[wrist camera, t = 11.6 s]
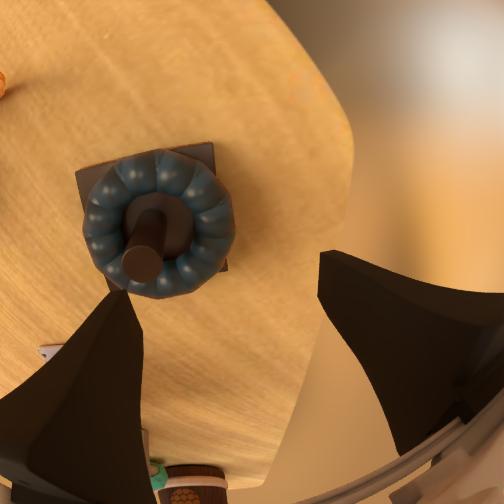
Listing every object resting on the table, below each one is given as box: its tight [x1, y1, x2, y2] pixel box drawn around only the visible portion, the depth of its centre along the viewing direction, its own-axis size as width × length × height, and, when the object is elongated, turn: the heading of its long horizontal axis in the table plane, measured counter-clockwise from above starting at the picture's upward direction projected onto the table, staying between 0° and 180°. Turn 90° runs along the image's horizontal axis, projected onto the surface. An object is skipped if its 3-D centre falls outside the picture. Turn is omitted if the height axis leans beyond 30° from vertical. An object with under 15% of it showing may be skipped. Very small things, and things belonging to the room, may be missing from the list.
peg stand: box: [75, 142, 228, 291], centre depth 15 cm, size 9×9×7 cm
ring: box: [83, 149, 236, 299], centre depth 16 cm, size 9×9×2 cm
